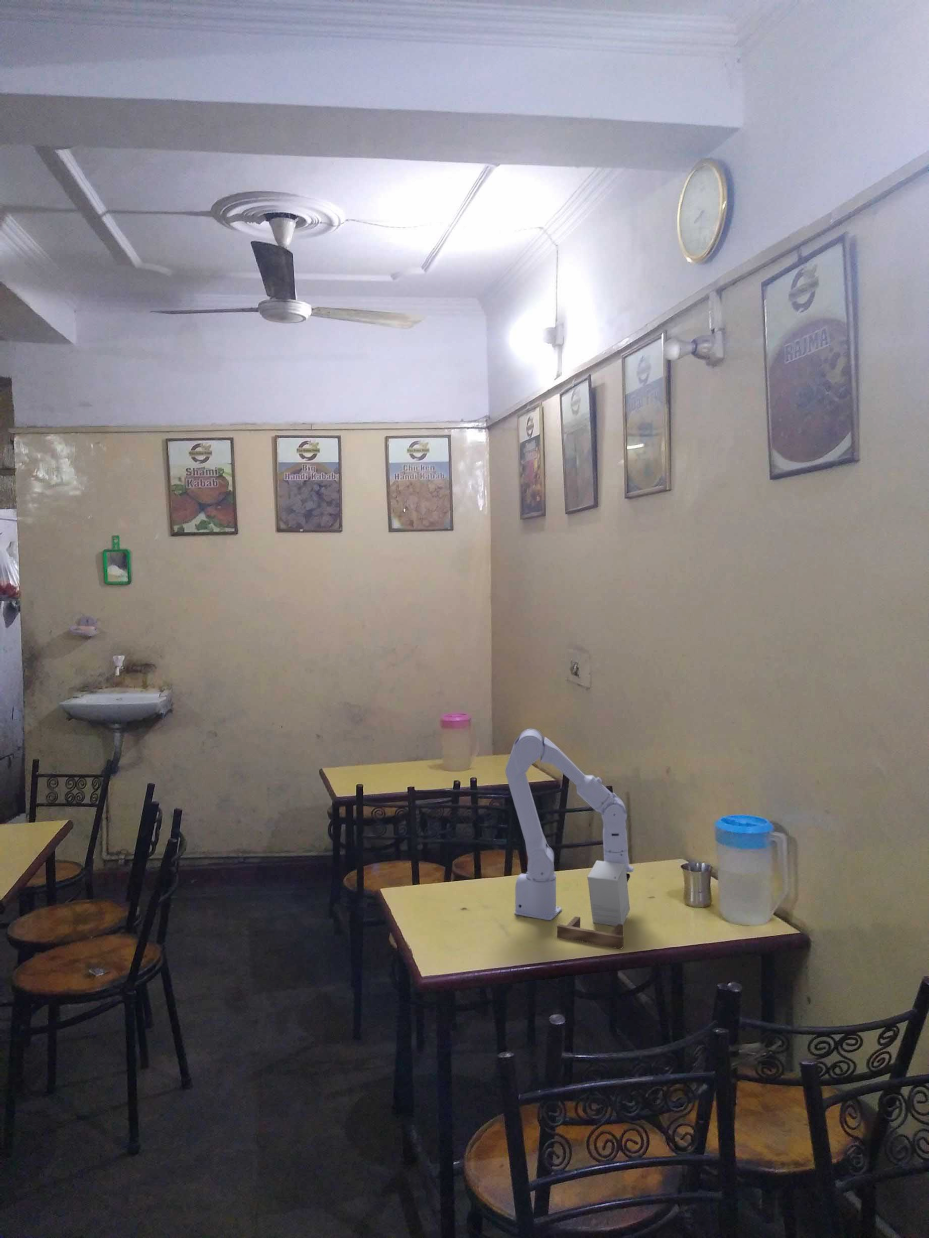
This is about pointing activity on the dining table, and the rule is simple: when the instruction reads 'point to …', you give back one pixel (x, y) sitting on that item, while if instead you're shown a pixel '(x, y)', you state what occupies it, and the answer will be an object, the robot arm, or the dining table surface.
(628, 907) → the supplement box
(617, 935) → the walnut clip
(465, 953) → the dining table surface
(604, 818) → the robot arm
